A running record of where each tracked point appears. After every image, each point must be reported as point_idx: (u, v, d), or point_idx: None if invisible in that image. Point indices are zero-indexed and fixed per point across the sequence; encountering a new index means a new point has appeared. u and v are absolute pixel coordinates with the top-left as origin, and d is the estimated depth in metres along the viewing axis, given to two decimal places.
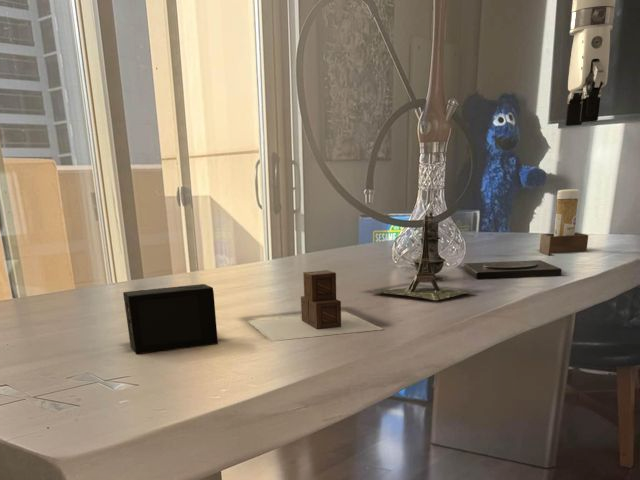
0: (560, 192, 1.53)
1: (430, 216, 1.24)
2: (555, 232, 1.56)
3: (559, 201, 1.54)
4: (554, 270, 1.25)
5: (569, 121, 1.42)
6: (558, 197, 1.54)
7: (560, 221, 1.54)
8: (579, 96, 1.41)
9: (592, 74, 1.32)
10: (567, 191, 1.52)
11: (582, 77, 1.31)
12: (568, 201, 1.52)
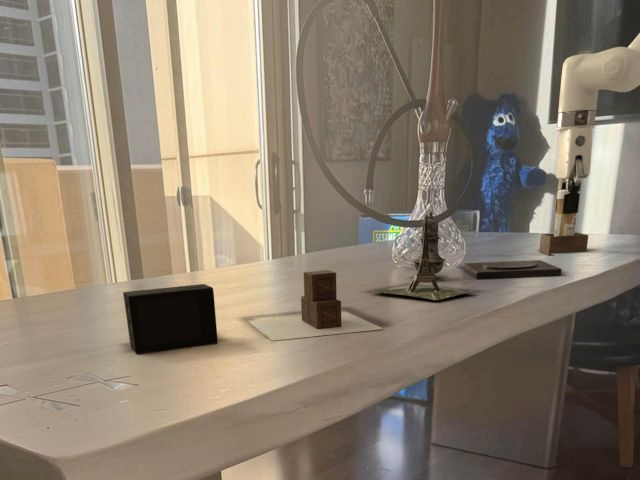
0: (560, 192, 1.53)
1: (430, 216, 1.24)
2: (555, 232, 1.56)
3: (559, 201, 1.54)
4: (554, 270, 1.25)
5: None
6: (558, 197, 1.54)
7: (560, 221, 1.54)
8: None
9: None
10: None
11: (567, 170, 1.48)
12: None
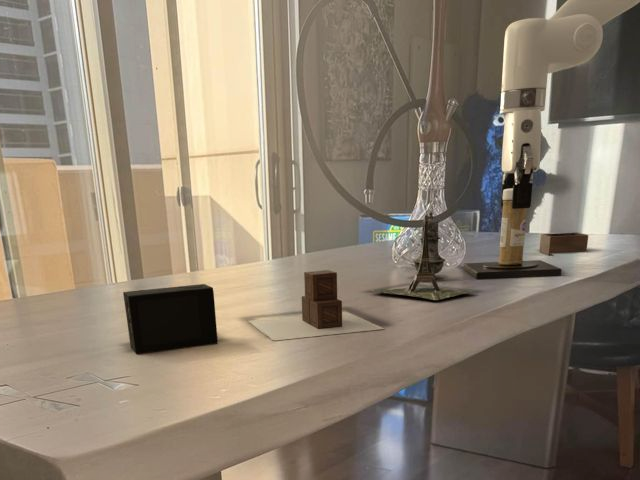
0: (505, 192, 1.27)
1: (430, 216, 1.24)
2: (501, 239, 1.30)
3: (505, 202, 1.27)
4: (554, 270, 1.25)
5: None
6: (503, 197, 1.27)
7: (506, 227, 1.28)
8: (514, 176, 1.31)
9: (524, 158, 1.22)
10: None
11: (512, 162, 1.21)
12: None
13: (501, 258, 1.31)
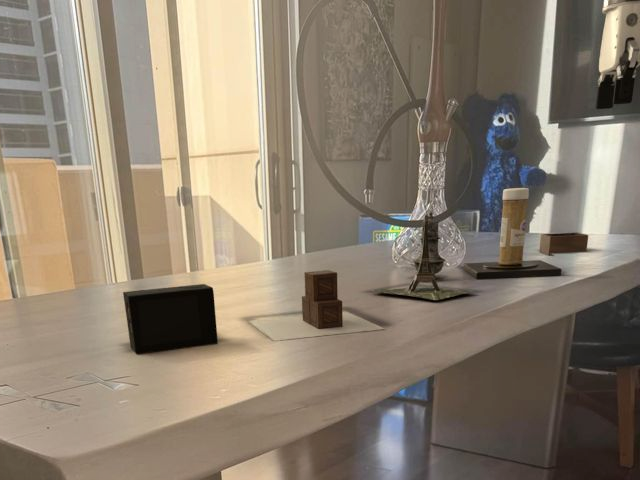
0: (505, 192, 1.27)
1: (430, 216, 1.24)
2: (501, 239, 1.30)
3: (505, 202, 1.27)
4: (554, 270, 1.25)
5: (600, 104, 1.36)
6: (503, 197, 1.27)
7: (506, 227, 1.28)
8: (610, 78, 1.35)
9: (626, 54, 1.26)
10: (513, 190, 1.25)
11: (616, 57, 1.25)
12: (515, 202, 1.26)
13: (501, 258, 1.31)
